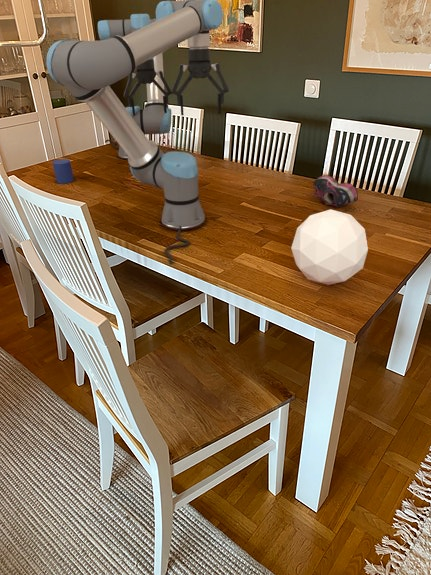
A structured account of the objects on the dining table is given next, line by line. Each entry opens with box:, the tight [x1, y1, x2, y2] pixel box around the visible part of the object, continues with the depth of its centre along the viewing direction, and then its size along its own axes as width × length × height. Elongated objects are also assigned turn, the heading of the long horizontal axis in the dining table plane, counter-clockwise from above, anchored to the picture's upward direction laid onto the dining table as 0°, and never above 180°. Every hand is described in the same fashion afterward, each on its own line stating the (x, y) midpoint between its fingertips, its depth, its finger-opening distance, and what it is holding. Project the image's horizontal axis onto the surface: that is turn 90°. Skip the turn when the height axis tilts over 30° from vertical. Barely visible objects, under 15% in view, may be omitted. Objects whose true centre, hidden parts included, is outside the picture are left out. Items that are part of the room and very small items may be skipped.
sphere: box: [290, 208, 369, 286], centre depth 117 cm, size 19×20×20 cm
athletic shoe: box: [311, 174, 359, 208], centre depth 165 cm, size 11×22×12 cm
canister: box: [51, 158, 75, 185], centre depth 195 cm, size 7×7×9 cm
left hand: (149, 113), depth 191 cm, fingers open, 13 cm apart
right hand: (200, 114), depth 161 cm, fingers open, 13 cm apart
